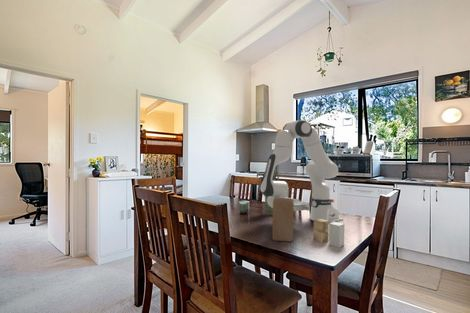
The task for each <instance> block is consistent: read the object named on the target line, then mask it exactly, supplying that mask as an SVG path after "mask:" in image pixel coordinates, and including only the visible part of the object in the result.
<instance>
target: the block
mask: <svg viewBox="0 0 470 313" xmlns="http://www.w3.org/2000/svg"><path fill="white" fill-rule="evenodd" d="M293 199H294V198H291V197H288V198H274V200H273V216H272V241H275V242H288V243H293V241H294V211H293V207H294V203H293Z"/></svg>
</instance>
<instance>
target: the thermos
mask: <svg viewBox="0 0 470 313" xmlns="http://www.w3.org/2000/svg"><path fill="white" fill-rule="evenodd" d="M264 173H265V172H263V173H262V178H263V177H264ZM272 181H280V174H279V172H277V169H276V167H275V170H274V174H273V178H272ZM267 198H268V197H266V196H264V205H263V208H264V209H263V210H264V213H263V214H264V215H266V216H269V217H270V216H272V217H273V208H272V207H270V206H269V205H268V203H267Z"/></svg>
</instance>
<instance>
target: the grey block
mask: <svg viewBox="0 0 470 313" xmlns="http://www.w3.org/2000/svg"><path fill="white" fill-rule="evenodd" d="M328 245H329V246H333V247H336V248H341V247H342V246H345V223H342V222H338V221H336V222H332V223H329V235H328Z"/></svg>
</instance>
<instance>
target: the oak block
mask: <svg viewBox="0 0 470 313" xmlns="http://www.w3.org/2000/svg"><path fill="white" fill-rule="evenodd" d="M313 240H314V241H316V242H319V243H326V242H329V221H327V220H324V219H315V220H313Z"/></svg>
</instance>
